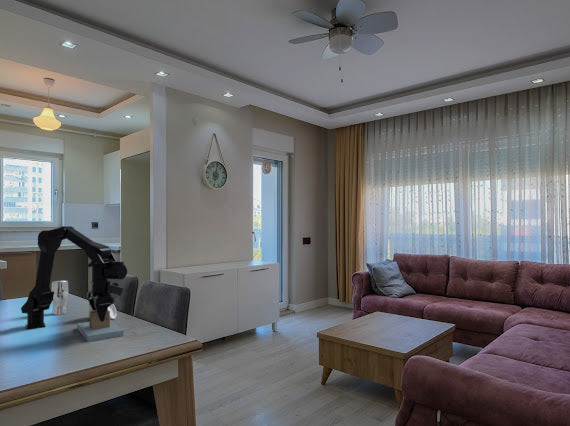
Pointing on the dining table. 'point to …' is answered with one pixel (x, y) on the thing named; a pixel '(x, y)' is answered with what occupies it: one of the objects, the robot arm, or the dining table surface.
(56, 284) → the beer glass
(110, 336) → the slate board
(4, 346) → the dining table surface
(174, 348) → the dining table surface
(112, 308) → the spread jar
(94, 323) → the walnut cube
